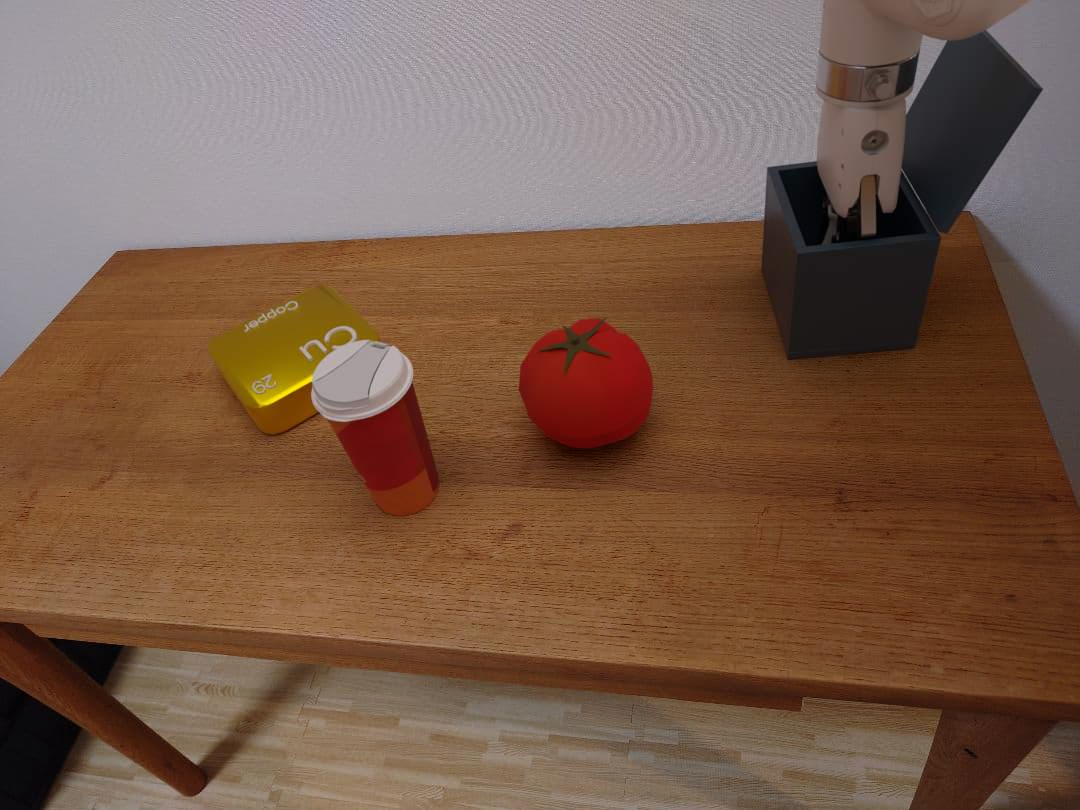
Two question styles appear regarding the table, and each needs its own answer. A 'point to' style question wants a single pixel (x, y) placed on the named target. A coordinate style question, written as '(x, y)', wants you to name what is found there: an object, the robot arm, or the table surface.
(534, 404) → the tomato
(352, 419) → the coffee cup
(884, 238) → the cool box
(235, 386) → the element tile
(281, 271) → the table surface
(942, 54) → the lid
